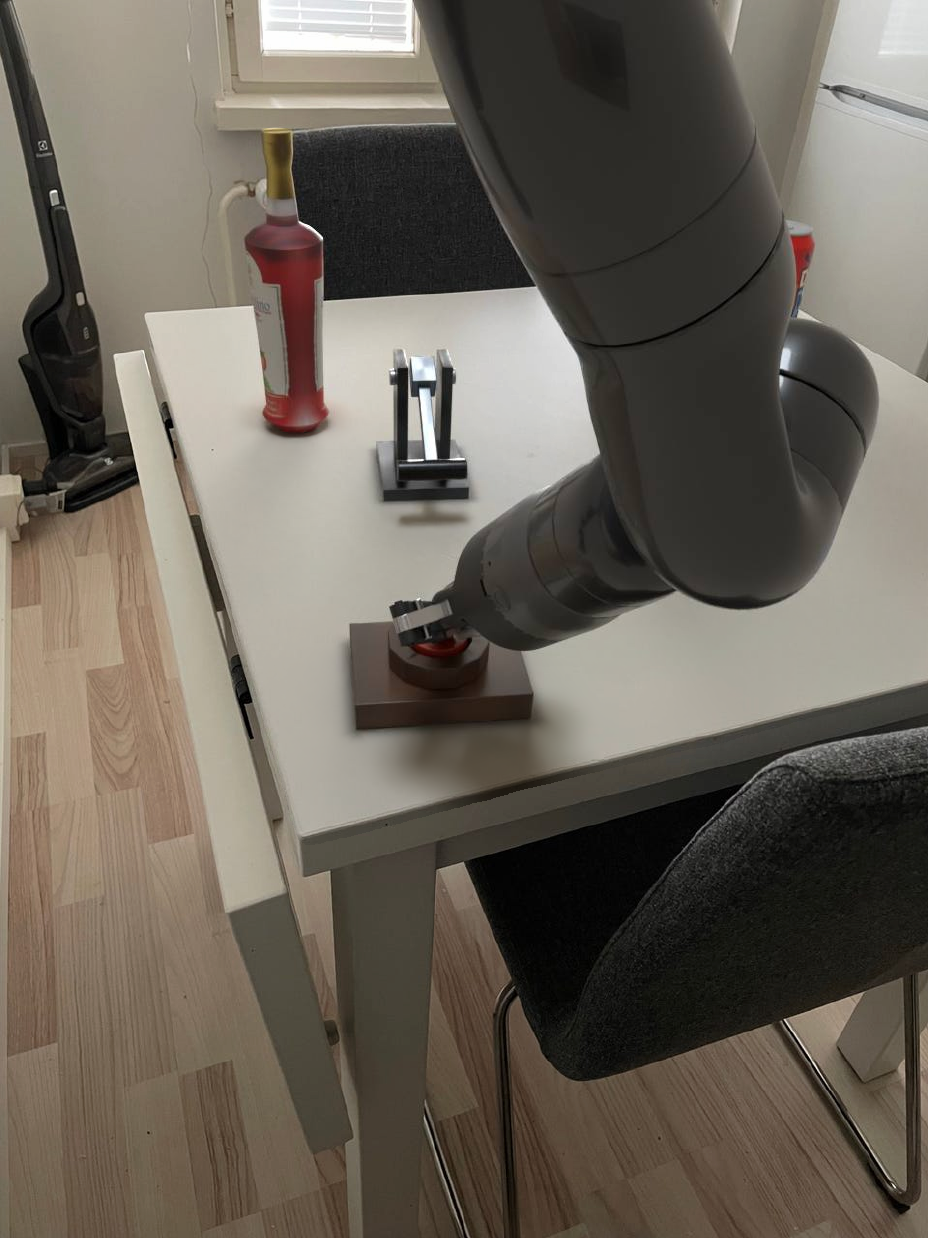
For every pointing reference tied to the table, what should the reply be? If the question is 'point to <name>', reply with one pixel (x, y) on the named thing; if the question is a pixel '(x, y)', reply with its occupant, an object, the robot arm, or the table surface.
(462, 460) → the tap lever
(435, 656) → the button
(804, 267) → the soda can
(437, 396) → the lever stand
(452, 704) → the button block
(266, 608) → the table surface
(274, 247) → the liquor
